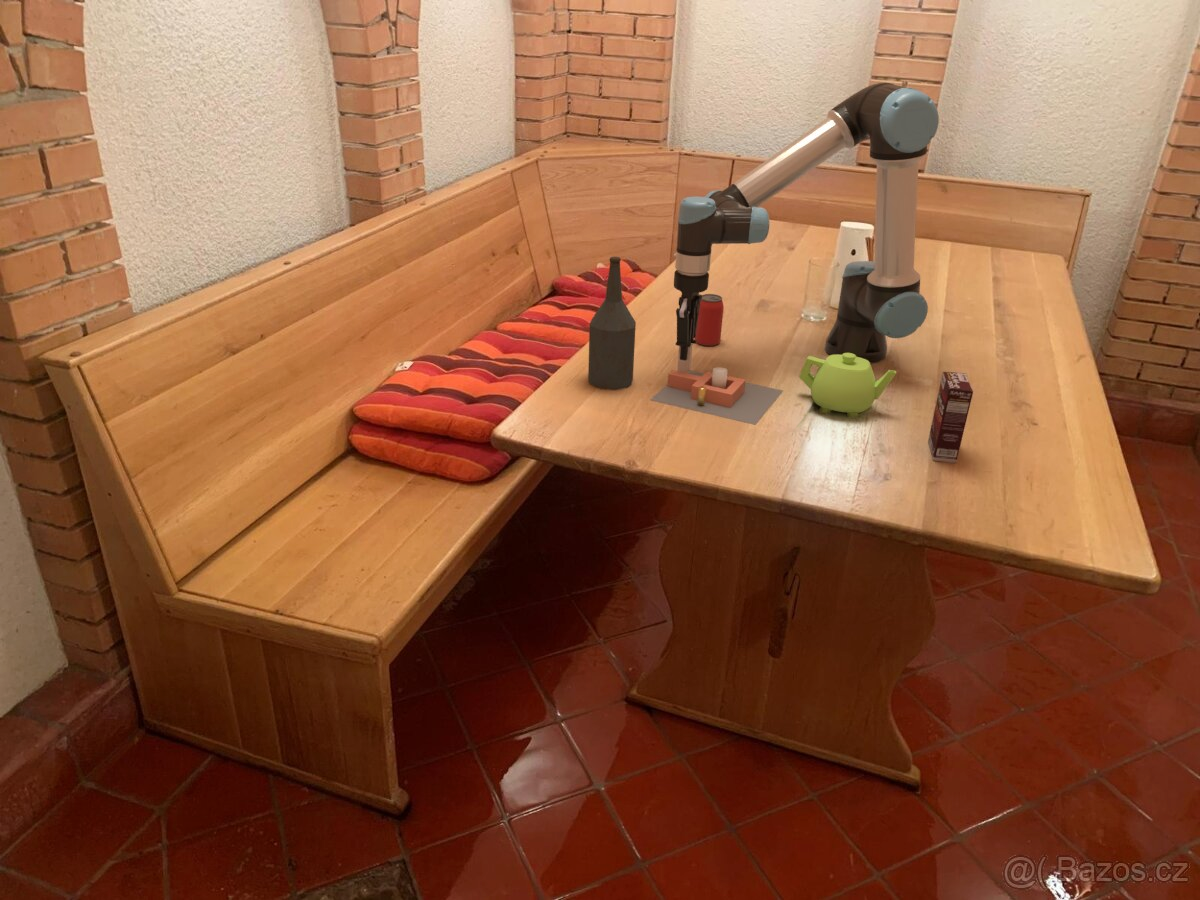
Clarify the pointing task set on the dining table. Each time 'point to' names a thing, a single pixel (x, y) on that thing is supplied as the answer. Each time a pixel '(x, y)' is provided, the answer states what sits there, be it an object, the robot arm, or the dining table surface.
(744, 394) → the board
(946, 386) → the supplement box
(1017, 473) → the dining table surface
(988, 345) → the dining table surface
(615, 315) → the bottle
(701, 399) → the gold metal capsule
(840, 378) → the teapot
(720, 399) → the square nut
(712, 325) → the beer can
